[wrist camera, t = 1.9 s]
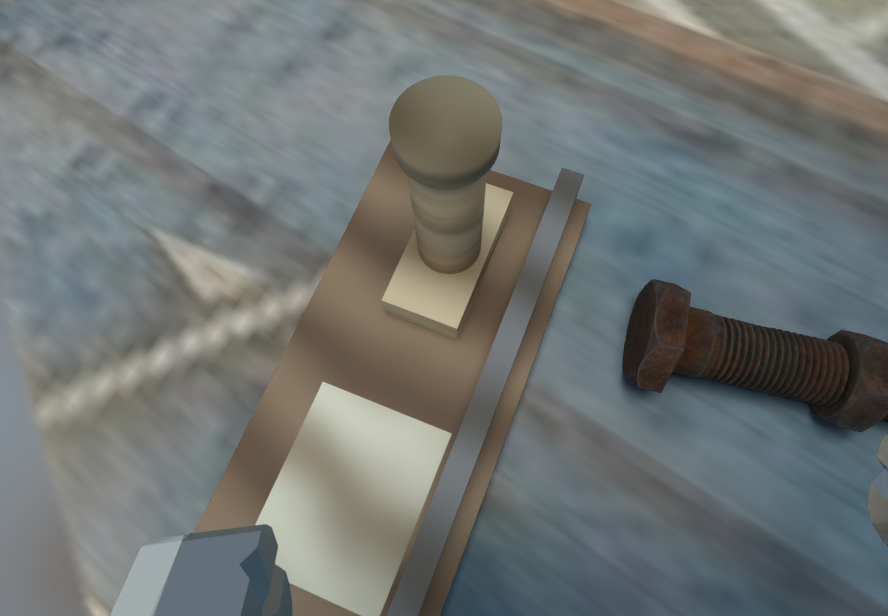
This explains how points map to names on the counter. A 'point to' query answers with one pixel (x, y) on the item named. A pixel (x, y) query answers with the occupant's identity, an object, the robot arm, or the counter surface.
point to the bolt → (756, 358)
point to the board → (394, 409)
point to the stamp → (446, 200)
